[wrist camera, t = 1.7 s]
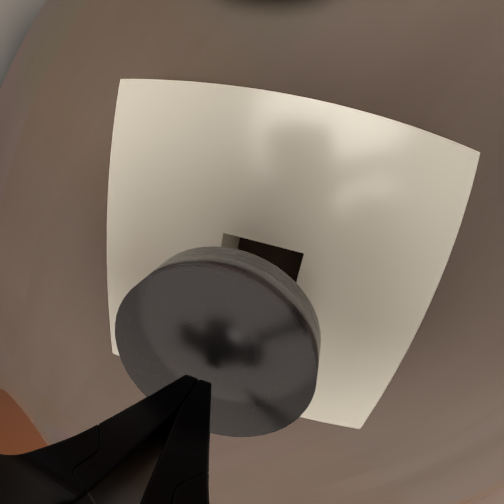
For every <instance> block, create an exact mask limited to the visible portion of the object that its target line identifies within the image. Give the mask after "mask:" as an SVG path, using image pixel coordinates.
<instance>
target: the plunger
mask: <svg viewBox="0 0 504 504" xmlns="http://www.w3.org/2000/svg"><path fill="white" fill-rule="evenodd" d="M115 339H116V345H117V349H118V352H119V356H120V358H121V360H122V363H123V365H124V367H125V369H126V371H127V372H128V374H129V376H130V377H131V379H132V380H133V381H134V383H135V384H136V385H137V387H138V388H139V389H140V390H141V391H142V392H143V393H144V394H145V395H146V396H147V397H148V396H150V395H152V394H153V393H155V392H157V391H158V390H160V389H162V388H164V387H165V386H167V385H169V384H170V383H172V382H174V381H175V380H177V379H179V378H180V377H182V376H184V375H190V376H193V377H195V378H197V379H198V380H200V379H201V380H204V381H207V382H210V383H211V384H212V389H211V412H210V433H213V434H218V435H224V436H232V437H251V436H259V435H265V434H268V433H272V432H275V431H277V430H280V429H282V428H284V427H286V426H288V425H289V424H291V423H293V422H294V421H295V420H296V419H298V418H299V417H300V416H301V415H302V414H303V413H304V411H305V410H306V409H307V408H308V406H309V404H310V402H311V401H312V398H313V396H314V393H315V389H316V383H317V375H318V366H319V357H320V347H321V331H320V326H319V321H318V318H317V315H316V313H315V310H314V308H313V306H312V304H311V302H310V301H309V299H308V297H307V296H306V294H305V293H304V292H303V290H302V289H301V288H300V287H299V285H298V284H297V283H296V282H295V281H294V280H293V279H292V278H291V277H290V276H288V275H287V274H286V273H285V272H283V271H282V270H281V269H280V268H278V267H277V266H275V265H273V264H272V263H270V262H269V261H267V260H265V259H263V258H261V257H258V256H256V255H254V254H251V253H248V252H245V251H242V250H238V249H233V248H228V247H217V246H209V247H198V248H193V249H189V250H186V251H183V252H180V253H178V254H176V255H174V256H172V257H171V258H169V259H167V260H166V261H165V262H164V263H162V264H161V265H160V266H159V267H157V268H156V269H155V270H154V271H153V272H151V273H150V274H149V275H148V276H147V277H145V278H144V279H143V280H142V281H140V282H139V283H138V284H137V285H136V286H134V287H133V288H132V289H131V290H130V291H129V292H128V293H127V295H126V296H125V297H124V299H123V300H122V302H121V304H120V306H119V309H118V312H117V315H116V321H115Z"/></svg>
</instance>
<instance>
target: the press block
mask: <svg viewBox="0 0 504 504" xmlns="http://www.w3.org/2000/svg"><path fill="white" fill-rule="evenodd" d="M479 156H480V152H478V151H476V150H473V149H471V148H469V147H466V146H464V145H461V144H459V143H456V142H454V141H451V140H449V139H446V138H444V137H441V136H438V135H436V134H433V133H430V132H427V131H425V130H422V129H419V128H416V127H413V126H410V125H407V124H404V123H401V122H398V121H395V120H391V119H388V118H385V117H382V116H378V115H375V114H371V113H368V112H364V111H360V110H357V109H353V108H349V107H345V106H341V105H337V104H333V103H328V102H324V101H320V100H315V99H310V98H305V97H300V96H295V95H290V94H285V93H279V92H273V91H267V90H261V89H254V88H247V87H240V86H232V85H223V84H214V83H203V82H191V81H176V80H154V79H120V85H119V91H118V97H117V104H116V111H115V119H114V127H113V136H112V146H111V157H110V169H109V184H108V205H107V282H108V303H109V318H110V331H111V342H112V351H113V353H114V354H116V355H118V356H119V352H118V349H117V345H116V339H115V321H116V315H117V312H118V309H119V306H120V304H121V302H122V300H123V299H124V297H125V296H126V295H127V293H128V292H129V291H130V290H131V289H132V288H133V287H134V286H136V285H137V284H138V283H139V282H140V281H142V280H143V279H144V278H145V277H147V276H148V275H149V274H150V273H151V272H153V271H154V270H155V269H156V268H157V267H159V266H160V265H161V264H162V263H164V262H165V261H166V260H167V259H169V258H171V257H172V256H174V255H176V254H178V253H180V252H183V251H186V250H189V249H193V248H198V247H209V246H217V247H228V248H233V249H238V245H239V240H240V237H242V238H246V239H250V240H254V241H257V242H261V243H265V244H269V245H273V246H277V247H281V248H285V249H289V250H292V251H296V252H300V253H304V254H303V258H302V262H301V265H300V269H299V273H298V277H297V280H296V283H297V284H298V285H299V287H300V288H301V289H302V290H303V292H304V293H305V294H306V296H307V297H308V299H309V301H310V302H311V304H312V306H313V308H314V310H315V313H316V315H317V318H318V321H319V326H320V331H321V347H320V357H319V366H318V375H317V383H316V389H315V393H314V396H313V398H312V401H311V402H310V404H309V406H308V408H307V409H306V410H305V411H304V413H303V414H302V415H301V416H300V417H303V418H307V419H311V420H316V421H321V422H325V423H330V424H335V425H341V426H346V427H352V428H357V429H360V428H361V427H362V425H363V424H364V422H365V421H366V419H367V418H368V416H369V415H370V413H371V412H372V410H373V408H374V407H375V405H376V404H377V402H378V400H379V399H380V397H381V396H382V394H383V392H384V391H385V389H386V387H387V386H388V384H389V382H390V380H391V379H392V377H393V375H394V374H395V372H396V370H397V368H398V366H399V365H400V363H401V361H402V359H403V357H404V355H405V354H406V352H407V350H408V348H409V346H410V344H411V342H412V340H413V338H414V336H415V334H416V332H417V330H418V328H419V326H420V324H421V322H422V320H423V318H424V315H425V313H426V311H427V309H428V307H429V305H430V302H431V300H432V298H433V295H434V293H435V291H436V289H437V286H438V284H439V281H440V279H441V276H442V274H443V271H444V269H445V266H446V264H447V261H448V259H449V256H450V253H451V251H452V248H453V245H454V242H455V239H456V237H457V234H458V231H459V228H460V225H461V222H462V218H463V215H464V212H465V209H466V205H467V202H468V199H469V195H470V192H471V188H472V184H473V181H474V177H475V173H476V169H477V165H478V160H479Z"/></svg>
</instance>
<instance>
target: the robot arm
mask: <svg viewBox="0 0 504 504" xmlns="http://www.w3.org/2000/svg"><path fill="white" fill-rule="evenodd" d="M211 389H212V384H211V383H210V382H207V381H204V380H201V379H200V380H198V379H197V378H195V377H193V376H190V375H184V376H182V377H180V378H179V379H177V380H175V381H174V382H172V383H170V384H169V385H167V386H165V387H164V388H162V389H160V390H158V391H157V392H155V393H153V394H152V395H150V396H148V397H146V398H145V399H143V400H141V401H139V402H138V403H136V404H134V405H132V406H131V407H129V408H127V409H125V410H123V411H122V412H120V413H118V414H116V415H114V416H113V417H111V418H109V419H107V420H105V421H103V422H102V423H100V424H99V425H96V426H94V427H92V428H90V429H88V430H86V431H84V432H82V433H80V434H78V435H76V436H73V437H71V438H68V439H66V440H63V441H61V442H58V443H55V444H52V445H49V446H46V447H44V448H41V449H37V450H34V451H32V452H28V453H24V454H19V455H3V454H0V504H139V503H140V504H209V485H208V483H209V473H208V472H209V440H210V412H211Z"/></svg>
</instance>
